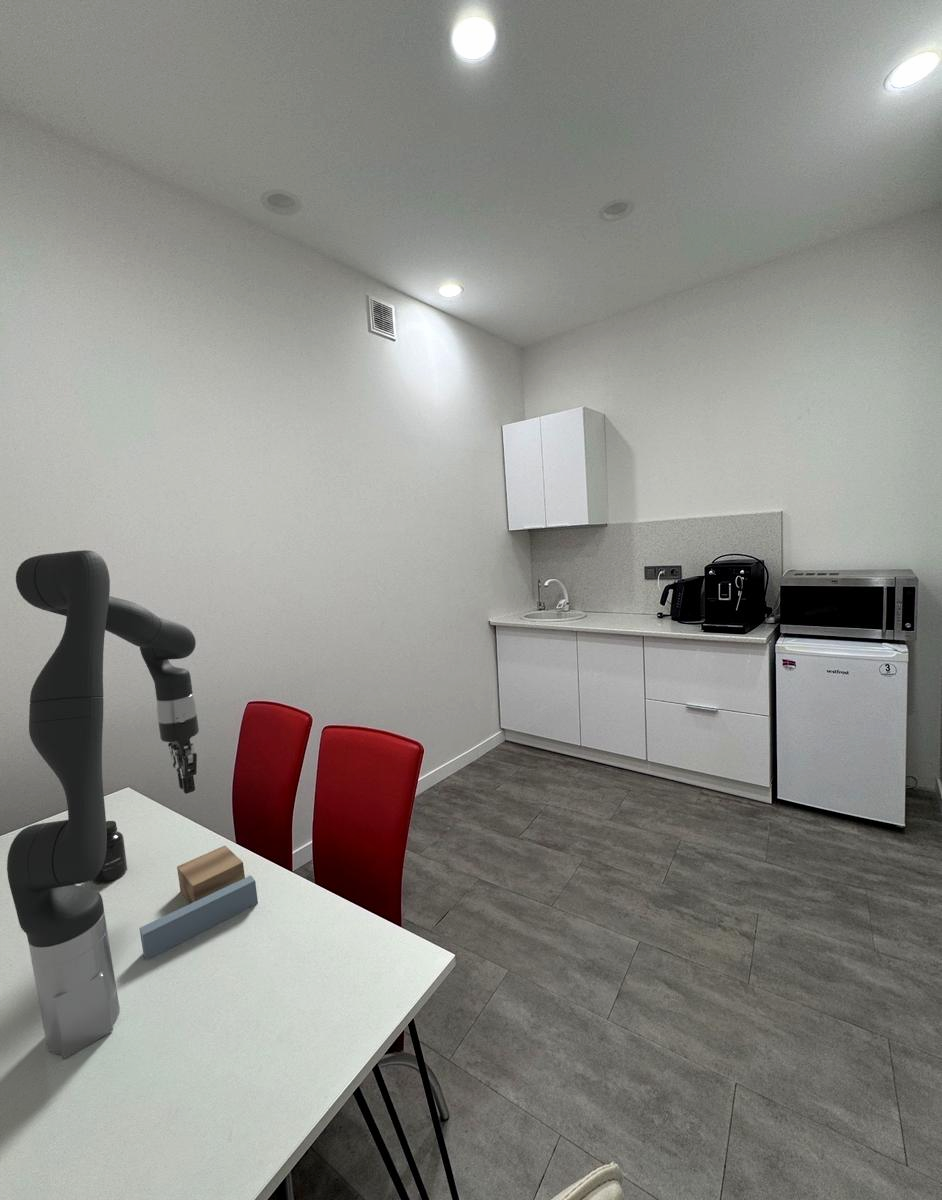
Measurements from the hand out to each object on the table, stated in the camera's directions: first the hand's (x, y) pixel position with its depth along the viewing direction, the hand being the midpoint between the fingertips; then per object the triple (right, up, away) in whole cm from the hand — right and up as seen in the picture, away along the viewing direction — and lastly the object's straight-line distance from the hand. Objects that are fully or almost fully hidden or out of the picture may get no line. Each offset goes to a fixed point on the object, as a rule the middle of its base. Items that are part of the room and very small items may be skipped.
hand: (187, 789), depth 119 cm
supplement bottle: (-19, -21, +2) cm, 28 cm away
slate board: (+12, -21, -17) cm, 29 cm away
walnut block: (+9, -20, -6) cm, 22 cm away
